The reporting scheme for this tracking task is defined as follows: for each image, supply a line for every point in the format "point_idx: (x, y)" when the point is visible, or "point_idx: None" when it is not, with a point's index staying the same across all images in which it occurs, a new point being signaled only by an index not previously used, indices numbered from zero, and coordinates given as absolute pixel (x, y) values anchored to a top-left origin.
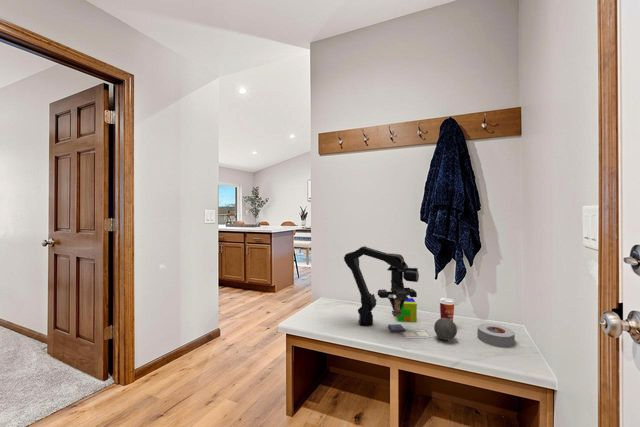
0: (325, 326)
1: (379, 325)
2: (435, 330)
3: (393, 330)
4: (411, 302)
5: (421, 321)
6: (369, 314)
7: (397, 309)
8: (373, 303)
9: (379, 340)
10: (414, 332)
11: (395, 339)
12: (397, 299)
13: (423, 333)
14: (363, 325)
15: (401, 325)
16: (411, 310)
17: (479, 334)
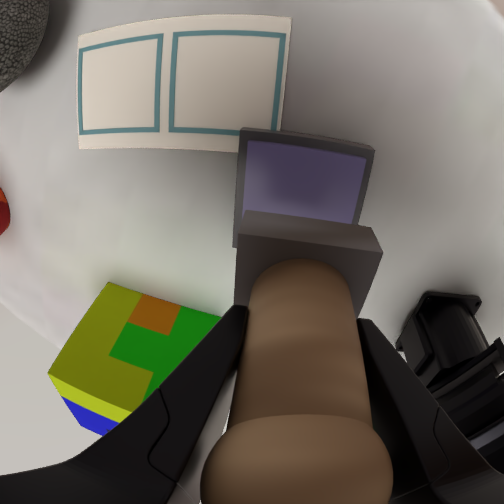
0: None
1: (382, 287)
2: (31, 3)
3: (357, 147)
4: (83, 403)
5: (83, 281)
6: (459, 355)
7: (321, 305)
8: (493, 426)
9: (497, 68)
10: (165, 110)
11: (389, 27)
12: None
13: (107, 92)
14: (470, 296)
15: (234, 229)
16: (103, 349)
17: None
